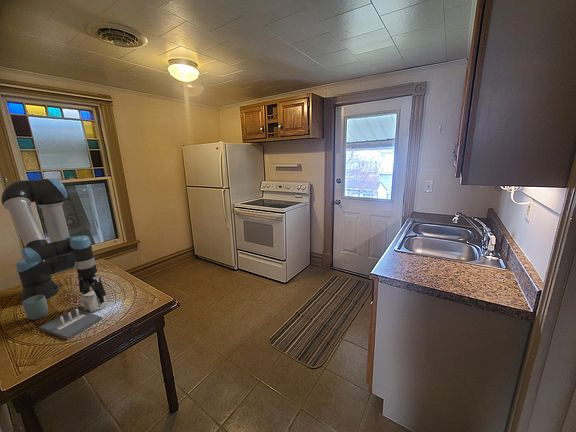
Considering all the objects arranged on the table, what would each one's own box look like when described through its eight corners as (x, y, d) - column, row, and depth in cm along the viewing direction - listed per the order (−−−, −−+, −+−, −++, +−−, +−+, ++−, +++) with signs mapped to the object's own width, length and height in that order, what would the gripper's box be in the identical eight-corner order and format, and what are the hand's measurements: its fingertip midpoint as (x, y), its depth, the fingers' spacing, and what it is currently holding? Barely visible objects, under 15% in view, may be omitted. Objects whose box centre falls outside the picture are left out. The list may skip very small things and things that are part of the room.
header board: (40, 329, 110) (36, 318, 108) (75, 311, 122) (72, 300, 121) (67, 339, 103) (64, 327, 101) (102, 319, 116) (99, 308, 114)
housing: (84, 310, 123) (80, 296, 121) (100, 301, 130) (97, 288, 128) (90, 312, 121) (87, 297, 119) (107, 303, 129) (104, 289, 127)
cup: (53, 313, 121) (48, 296, 118) (33, 323, 114) (27, 305, 111) (44, 310, 123) (38, 293, 121) (23, 320, 116) (17, 302, 114)
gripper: (63, 267, 121) (74, 306, 126) (92, 273, 113) (102, 314, 119) (80, 260, 127) (90, 298, 133) (108, 266, 120) (117, 306, 125)
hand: (96, 306), depth 126 cm, fingers open, 9 cm apart
